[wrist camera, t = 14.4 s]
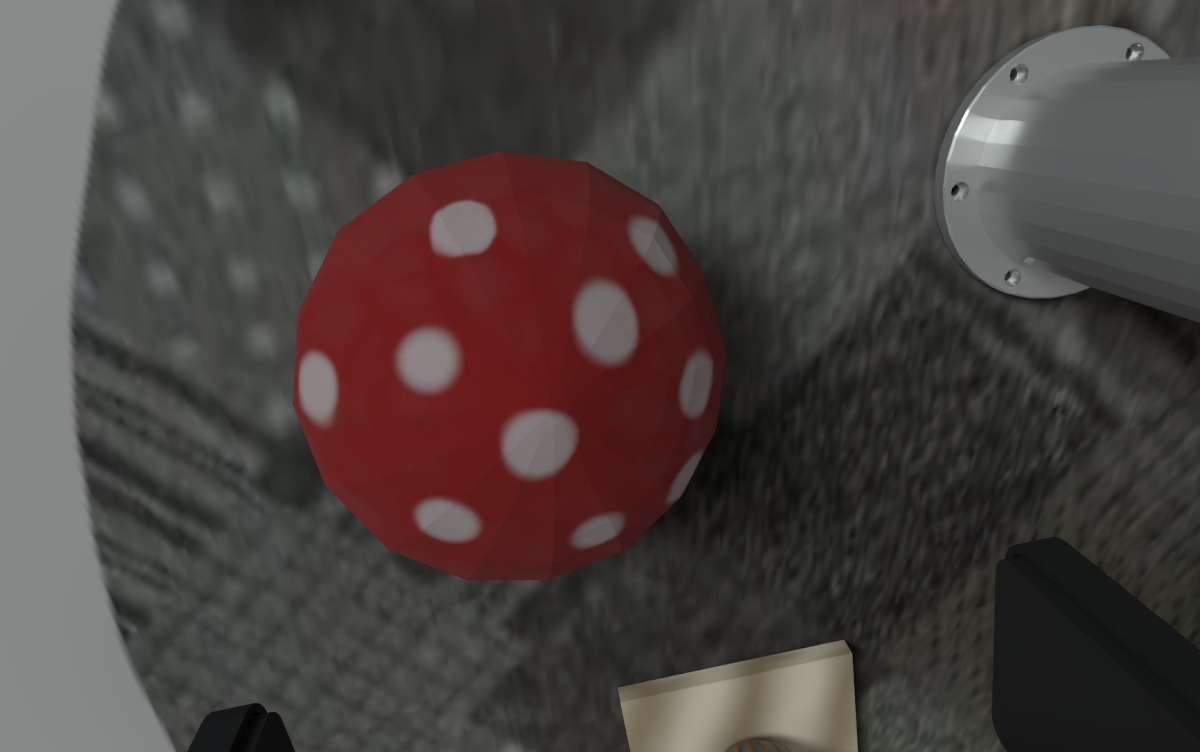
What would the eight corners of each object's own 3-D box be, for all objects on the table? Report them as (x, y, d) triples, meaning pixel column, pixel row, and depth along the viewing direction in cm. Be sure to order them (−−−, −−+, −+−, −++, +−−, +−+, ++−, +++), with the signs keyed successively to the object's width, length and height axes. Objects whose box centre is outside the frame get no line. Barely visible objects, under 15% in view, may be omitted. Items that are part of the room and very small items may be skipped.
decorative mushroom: (324, 149, 33) (186, 187, 19) (679, 128, 35) (790, 149, 21) (379, 472, 39) (303, 681, 25) (683, 443, 40) (774, 627, 26)
